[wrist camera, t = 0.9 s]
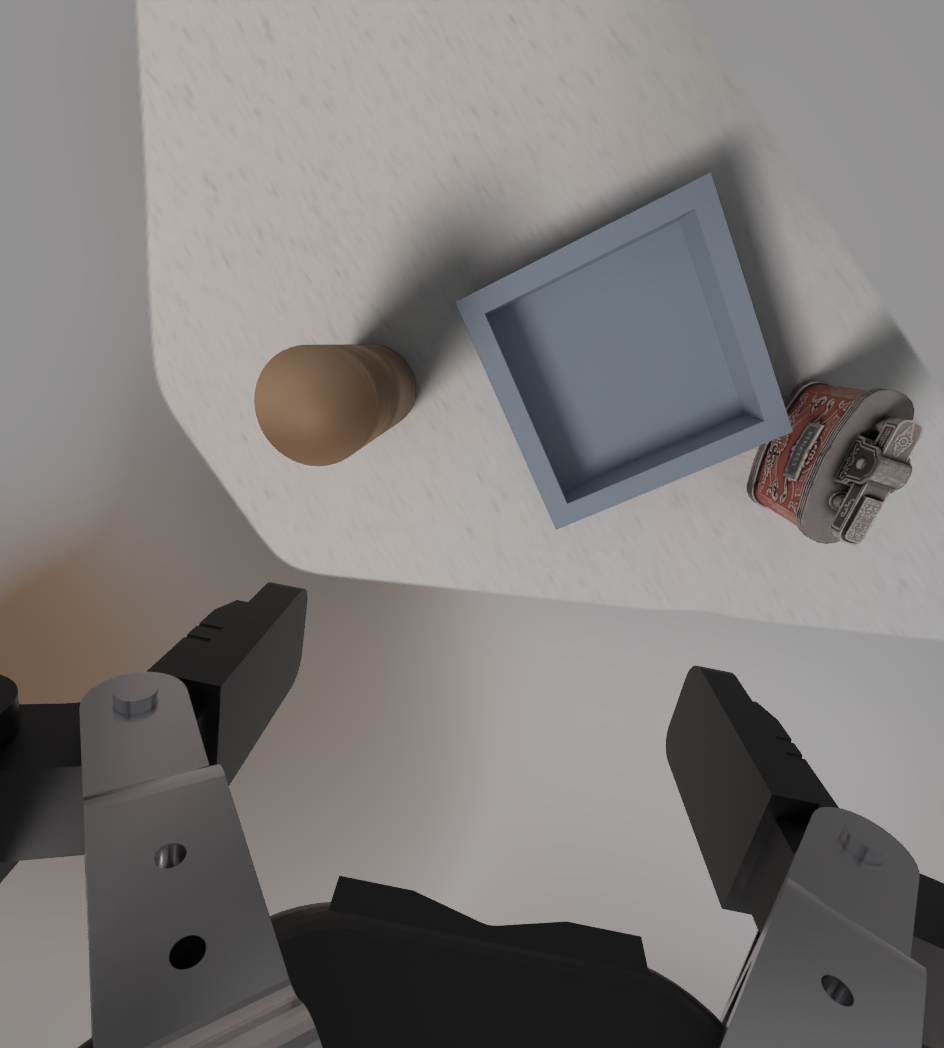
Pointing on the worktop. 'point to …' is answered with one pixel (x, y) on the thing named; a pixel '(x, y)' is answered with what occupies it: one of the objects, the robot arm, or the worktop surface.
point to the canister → (331, 399)
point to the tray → (629, 356)
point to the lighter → (836, 459)
